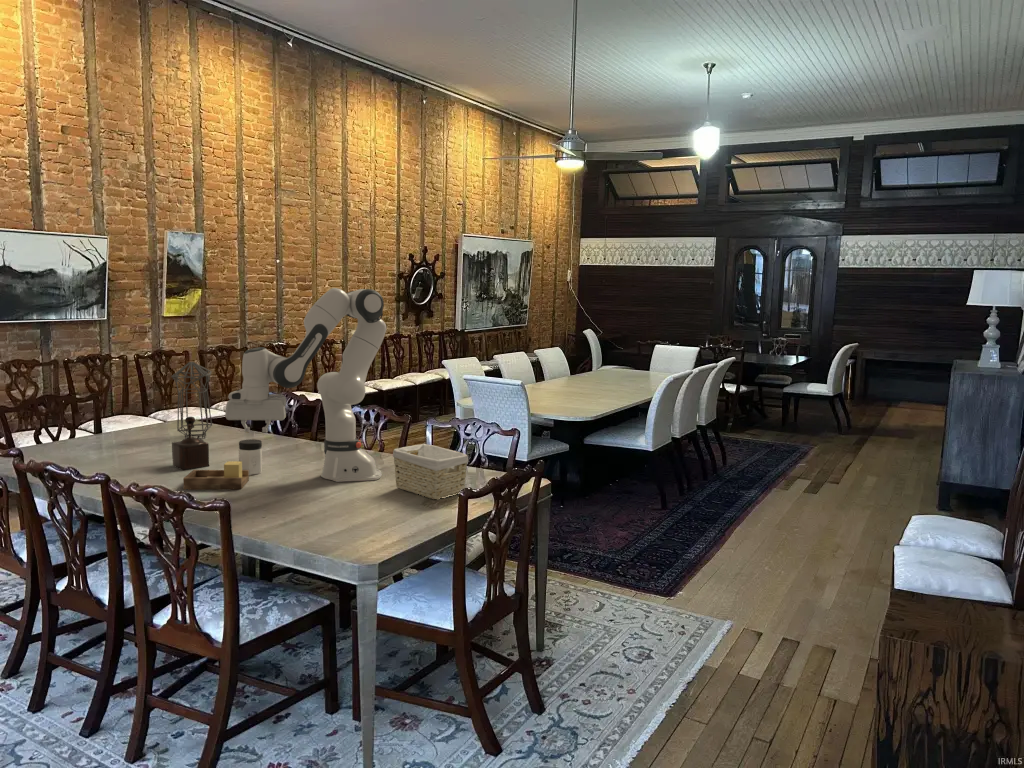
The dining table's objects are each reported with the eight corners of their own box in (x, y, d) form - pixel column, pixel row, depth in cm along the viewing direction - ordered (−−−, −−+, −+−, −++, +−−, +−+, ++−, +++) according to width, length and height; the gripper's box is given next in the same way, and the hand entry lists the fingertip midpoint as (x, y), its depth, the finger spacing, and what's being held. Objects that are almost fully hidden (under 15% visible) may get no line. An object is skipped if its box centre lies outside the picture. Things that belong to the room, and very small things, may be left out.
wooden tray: (248, 480, 276) (248, 470, 276) (241, 489, 264) (241, 478, 264) (193, 480, 274) (193, 469, 273) (183, 489, 262) (183, 478, 262)
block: (242, 477, 272) (242, 461, 272) (238, 481, 267) (238, 464, 267) (227, 477, 272) (227, 461, 271) (224, 481, 267) (223, 464, 266)
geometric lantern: (210, 440, 341) (207, 363, 336) (173, 442, 338) (169, 364, 333) (216, 433, 357) (212, 359, 351) (180, 434, 353) (176, 360, 348)
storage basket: (469, 494, 268) (470, 453, 267) (435, 503, 256) (436, 460, 255) (424, 481, 284) (425, 442, 282) (390, 488, 272) (391, 448, 270)
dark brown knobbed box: (211, 466, 296) (210, 420, 293) (183, 470, 288) (182, 423, 285) (194, 459, 306) (193, 415, 304) (166, 463, 298) (165, 418, 296)
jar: (243, 476, 282) (243, 444, 281) (234, 471, 288) (234, 440, 287) (266, 472, 288) (266, 442, 287) (257, 468, 294) (257, 438, 293)
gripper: (287, 393, 271) (287, 431, 273) (228, 392, 269) (228, 430, 270) (284, 395, 265) (284, 434, 267) (223, 394, 262) (224, 433, 264)
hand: (256, 432), depth 268 cm, fingers open, 5 cm apart
